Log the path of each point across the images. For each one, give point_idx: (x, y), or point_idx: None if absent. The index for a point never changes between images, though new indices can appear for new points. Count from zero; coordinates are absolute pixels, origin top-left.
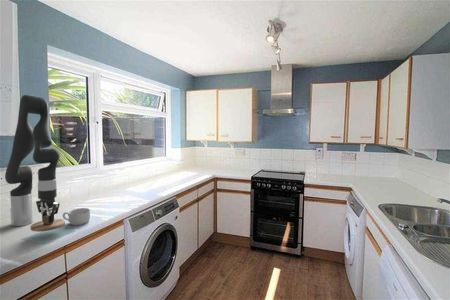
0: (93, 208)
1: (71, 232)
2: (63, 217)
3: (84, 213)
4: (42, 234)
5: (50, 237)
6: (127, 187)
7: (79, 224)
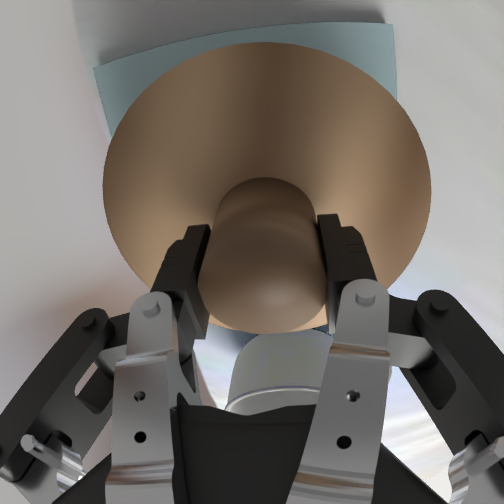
0: (400, 421)
1: None
2: None
3: None
4: None
5: None
6: (419, 473)
7: (248, 342)
